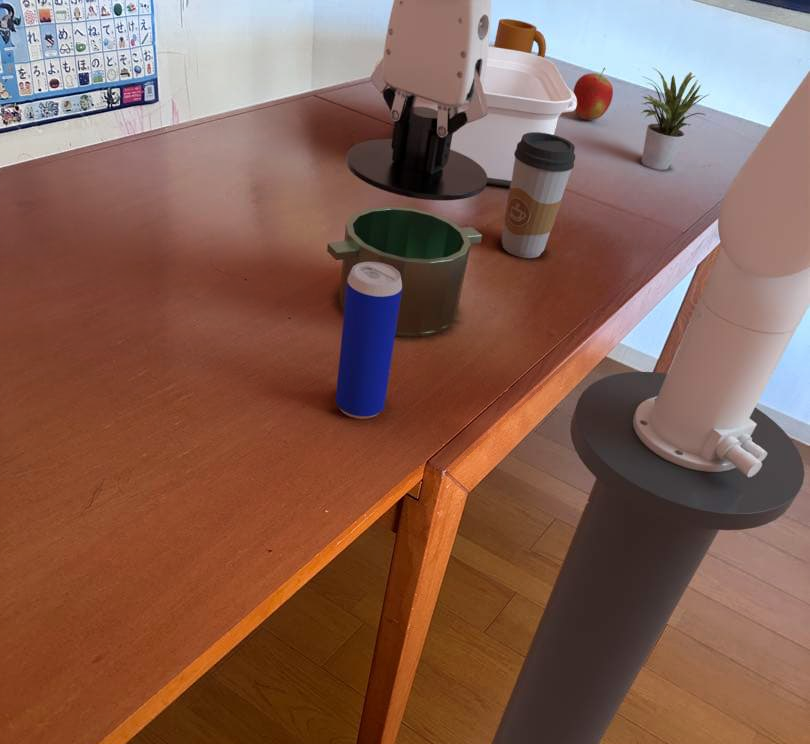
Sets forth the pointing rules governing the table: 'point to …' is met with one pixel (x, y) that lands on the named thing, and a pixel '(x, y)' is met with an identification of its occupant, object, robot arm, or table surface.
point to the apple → (592, 96)
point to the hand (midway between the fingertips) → (418, 162)
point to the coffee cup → (536, 192)
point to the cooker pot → (411, 262)
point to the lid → (416, 164)
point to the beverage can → (367, 338)
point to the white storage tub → (510, 110)
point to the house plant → (667, 123)
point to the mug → (519, 36)
